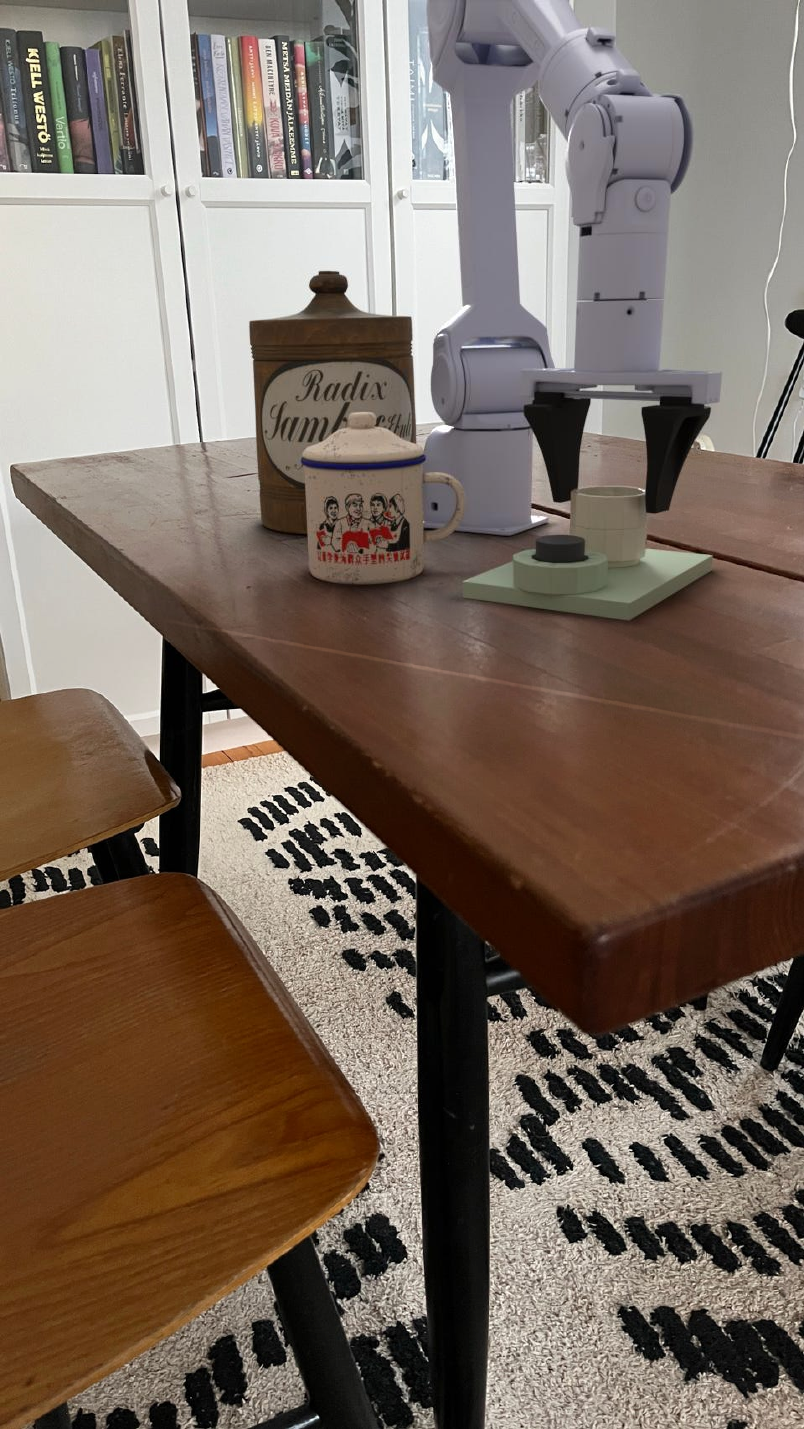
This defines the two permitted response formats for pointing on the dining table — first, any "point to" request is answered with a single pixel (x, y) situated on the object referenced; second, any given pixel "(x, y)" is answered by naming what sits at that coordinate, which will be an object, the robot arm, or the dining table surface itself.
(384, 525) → the teacup with lid
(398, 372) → the wooden container
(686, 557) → the scale
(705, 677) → the dining table surface
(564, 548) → the button
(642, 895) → the dining table surface
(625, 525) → the cup
